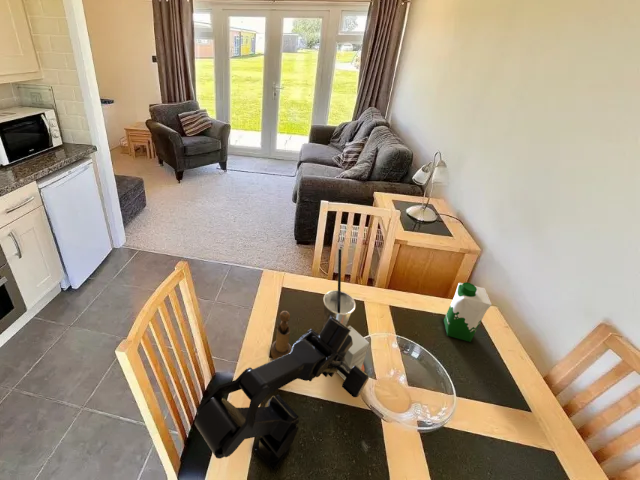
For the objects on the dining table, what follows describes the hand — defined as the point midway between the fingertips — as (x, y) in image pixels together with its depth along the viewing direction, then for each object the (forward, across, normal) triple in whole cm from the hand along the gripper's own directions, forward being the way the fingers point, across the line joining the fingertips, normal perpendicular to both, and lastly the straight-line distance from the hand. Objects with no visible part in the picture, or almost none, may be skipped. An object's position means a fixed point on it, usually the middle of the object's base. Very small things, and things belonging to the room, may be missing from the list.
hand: (341, 361), depth 90 cm
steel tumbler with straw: (+14, +11, -3) cm, 18 cm away
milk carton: (+38, -17, -28) cm, 50 cm away
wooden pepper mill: (+1, +16, +10) cm, 20 cm away
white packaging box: (+8, +1, +2) cm, 9 cm away
